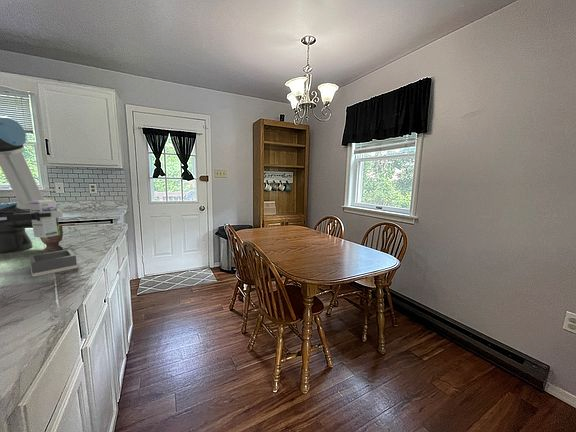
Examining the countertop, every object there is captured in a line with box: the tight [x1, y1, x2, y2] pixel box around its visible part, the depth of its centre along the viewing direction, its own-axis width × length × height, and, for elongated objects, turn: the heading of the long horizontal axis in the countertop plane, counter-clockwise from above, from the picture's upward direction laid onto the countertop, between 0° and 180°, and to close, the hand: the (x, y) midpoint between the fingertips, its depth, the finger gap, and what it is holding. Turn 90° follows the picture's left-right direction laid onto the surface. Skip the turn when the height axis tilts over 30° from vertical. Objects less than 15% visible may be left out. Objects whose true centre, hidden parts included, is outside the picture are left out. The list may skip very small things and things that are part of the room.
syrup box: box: [29, 199, 60, 238], centre depth 102 cm, size 6×6×14 cm
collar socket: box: [28, 248, 79, 278], centre depth 103 cm, size 13×13×5 cm
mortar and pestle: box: [39, 223, 64, 254], centre depth 124 cm, size 12×9×20 cm
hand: (60, 212), depth 105 cm, fingers closed on syrup box, 7 cm apart
